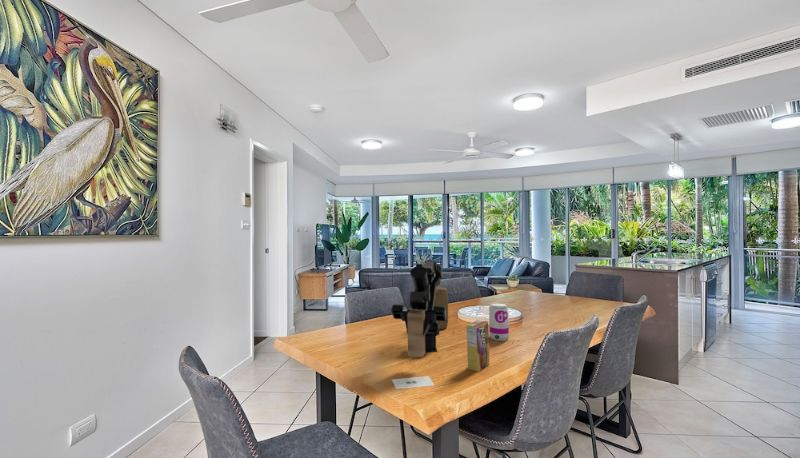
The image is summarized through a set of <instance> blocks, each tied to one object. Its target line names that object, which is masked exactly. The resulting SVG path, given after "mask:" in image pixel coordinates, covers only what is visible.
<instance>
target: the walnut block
mask: <svg viewBox="0 0 800 458" xmlns="http://www.w3.org/2000/svg"><path fill="white" fill-rule="evenodd" d="M407 320H408V334H407V357H415V358H416V357H418V358H424V355H425V353H426V352H425V336H423V329H424V325H425V311H413V310H410V311H409V313H408V314H407Z"/></svg>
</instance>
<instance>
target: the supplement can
mask: <svg viewBox="0 0 800 458" xmlns="http://www.w3.org/2000/svg"><path fill="white" fill-rule="evenodd" d="M488 312H489V313H488V315H489V317H488V336H489V338H490V339H491V340H492V339H493V340H492V341H496V342H504V341H508V339H509V338H510V336H509V335H510V333H509V329H510V327H509V326H510V323H509V307H508V305H507V304H505V303H497V302H496V303H490V305H489V307H488Z"/></svg>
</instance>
